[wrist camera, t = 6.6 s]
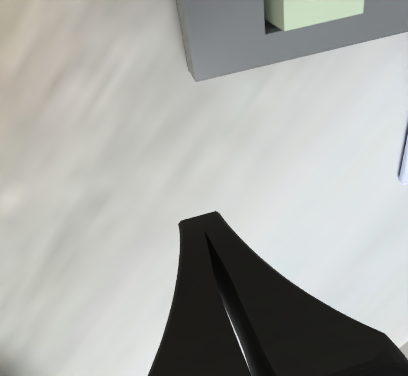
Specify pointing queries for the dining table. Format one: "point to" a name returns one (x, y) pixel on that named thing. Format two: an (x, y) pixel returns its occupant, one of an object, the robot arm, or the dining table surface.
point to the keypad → (272, 34)
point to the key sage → (308, 11)
